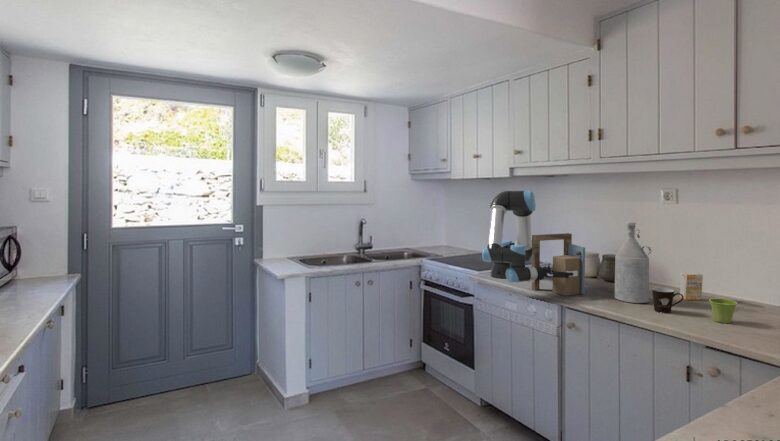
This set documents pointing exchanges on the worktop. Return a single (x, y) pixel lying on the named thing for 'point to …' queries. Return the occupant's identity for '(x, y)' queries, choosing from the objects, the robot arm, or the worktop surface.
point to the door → (580, 252)
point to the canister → (632, 270)
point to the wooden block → (566, 284)
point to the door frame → (536, 249)
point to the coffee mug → (664, 299)
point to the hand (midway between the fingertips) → (568, 270)
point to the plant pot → (722, 310)
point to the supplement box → (691, 286)
